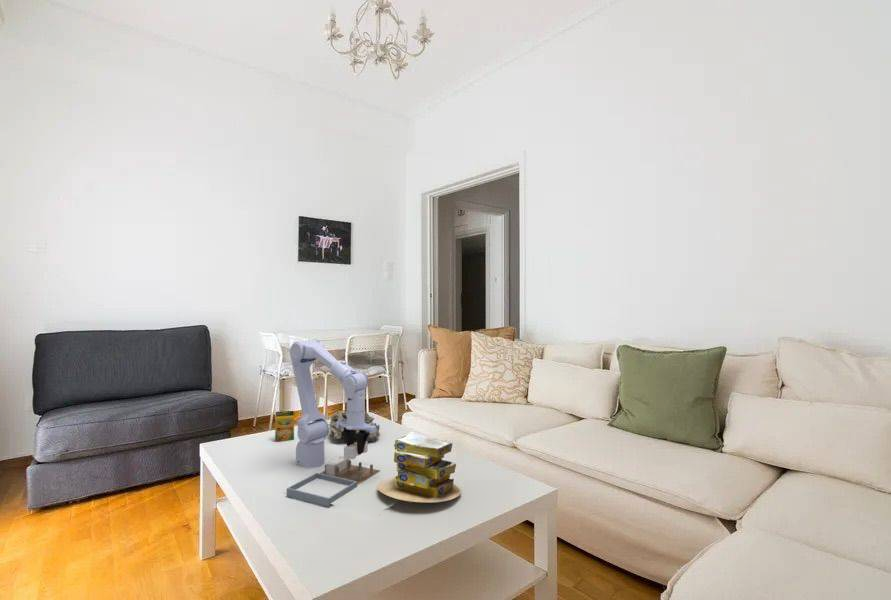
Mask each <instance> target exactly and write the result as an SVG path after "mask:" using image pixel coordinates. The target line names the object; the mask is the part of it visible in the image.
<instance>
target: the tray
mask: <svg viewBox="0 0 891 600" xmlns="http://www.w3.org/2000/svg"><path fill="white" fill-rule="evenodd" d="M317 479H318V480H319V479H320V480H323V481H327V482H332V483H337V484H340V485H345V487H344V488H342V489H341V490H339V491H338V492H336V493H335V494H333V495H332V496H330V497H326V496H323V495H320V494H319V495H318V494H315V493H310V492H307V491H302V490H298V489H300V488H301V487H303V486H305V485H307V484H309V483H311V482H313V481H315V480H317ZM357 487H358V484H357V481H352V480H348V479H343V478H339V477H334V476H330V475H325V474H321V472H315V473H314V474H311V475H310V476H307V477H306V478H304V479H302V480H300V481H298V482H296V483H294V484H292V485H290V486H288V487H287V488H286V497H287V498H290V499H293V500H294V499H295V500H298V501H302V502H305V503H309V504H313V505H317V506H321V507H325V508H328V509H329V508H331V507H333V506H334V504H332V503H333V502H335V501H337V500H338V499H340V498H341V497H344V496H345V495H346V494H347V493H350V492H351V491H352V490H354V489H355V488H357Z"/></svg>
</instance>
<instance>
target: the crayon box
mask: <svg viewBox="0 0 891 600" xmlns="http://www.w3.org/2000/svg"><path fill="white" fill-rule="evenodd" d="M284 413H286V414H284ZM294 413H295V410H284V411H276V412H275V421H274V423H275V425H274V426H275V429H274V432H275V433H274V435H275V436H274V437H275V438H274V441H275V442H284V441H294V440H295V415H294Z"/></svg>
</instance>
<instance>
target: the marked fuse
mask: <svg viewBox="0 0 891 600" xmlns="http://www.w3.org/2000/svg"><path fill="white" fill-rule="evenodd" d="M368 442H369V441H366V443H365V447H364V451H363V453H361V454H358V452H357V440H356V441H355V443H353V444H351V445H349V446H347V445H346V446H343V456H344V458H347V459H350V460H354V459H356V458H357V457H358V456H361V455H362V454H365V453H368V452H369V450H368V446H369V445H368Z"/></svg>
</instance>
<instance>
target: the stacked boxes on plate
mask: <svg viewBox="0 0 891 600" xmlns="http://www.w3.org/2000/svg"><path fill="white" fill-rule="evenodd" d="M393 447H394V450H396V451H395V452H394V454H393V462H394V463H396V465H395V466H396V472H397V476H393V477H390V478H389V477H388V478H385V479H383V480H381V481H379V482H378V483H377V485H376V488H377V490H378V491H379V492H380V493H382V494H383V495H386V496H388V497H390V498H393V499H397V500H400V501H405V502H412V503H413V502H415V503H441V502H447V501H451V500H453V499H455V498H458V497H459V496H460V494H461V489H460V488H459V487H458V486H457V485H456V484H454V483H455V481H454V480H455V479H454V478H451V475H452V474H454V473H455V472H456V467H457V463H455V462H453V461H448V460H444V458H445V455H446V454H448V453H451V452H452V448H453V442H452V441H447V440H443V439H438V438H432V437H429V436H426V435H424V434H421V433H419V432H417V431H409V433H408V434H407V435H404V436H402V437H399V438H397V439H396V438H395V440H394V444H393Z"/></svg>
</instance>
